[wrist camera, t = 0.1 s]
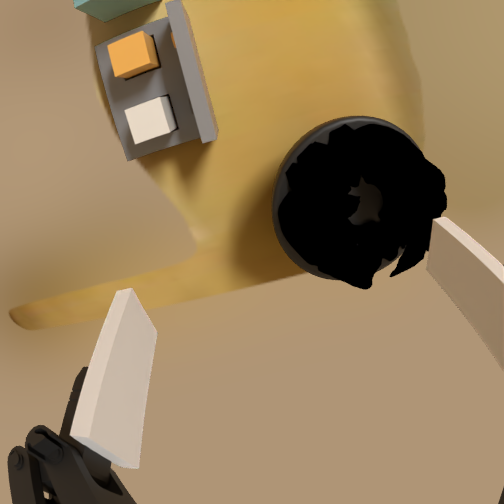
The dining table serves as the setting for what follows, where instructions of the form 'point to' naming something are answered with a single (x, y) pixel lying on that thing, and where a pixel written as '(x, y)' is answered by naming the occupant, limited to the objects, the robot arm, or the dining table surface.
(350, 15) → the dining table surface
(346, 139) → the bowl of black rocks
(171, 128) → the plain button
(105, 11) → the cover
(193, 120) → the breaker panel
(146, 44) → the tagged button
